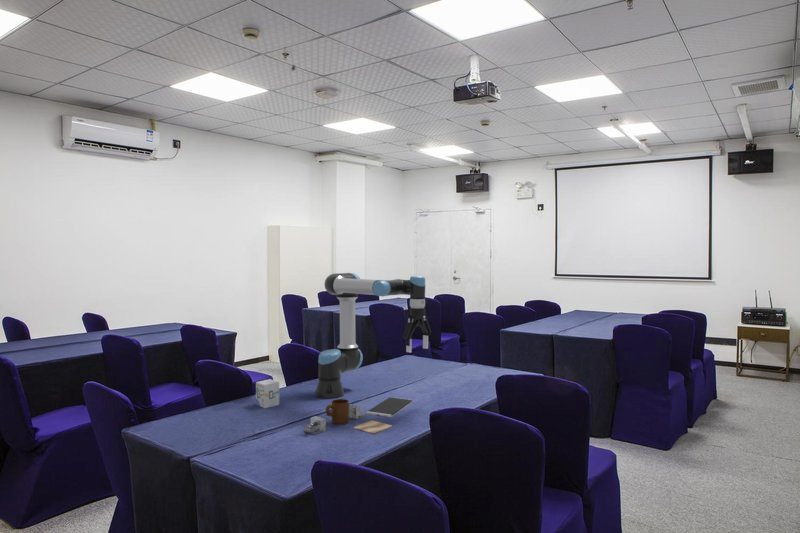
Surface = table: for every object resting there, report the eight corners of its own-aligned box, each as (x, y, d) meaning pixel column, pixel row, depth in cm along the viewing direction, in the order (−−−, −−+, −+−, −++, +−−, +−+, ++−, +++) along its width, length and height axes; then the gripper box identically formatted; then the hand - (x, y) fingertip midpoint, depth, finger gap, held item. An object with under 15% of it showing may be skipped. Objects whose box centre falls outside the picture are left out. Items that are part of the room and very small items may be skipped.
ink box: (255, 404, 250) (255, 381, 250) (270, 401, 256) (270, 378, 256) (264, 408, 244) (264, 384, 244) (279, 404, 250) (279, 381, 250)
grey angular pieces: (300, 432, 211) (300, 420, 210) (354, 413, 237) (354, 402, 237) (312, 436, 206) (312, 423, 206) (366, 416, 232) (366, 405, 232)
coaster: (353, 428, 216) (353, 427, 216) (371, 421, 226) (371, 420, 226) (374, 434, 209) (374, 433, 209) (392, 426, 218) (392, 425, 218)
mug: (331, 428, 215) (331, 407, 215) (320, 424, 220) (320, 403, 220) (352, 422, 224) (352, 401, 224) (340, 418, 229) (340, 397, 229)
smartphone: (365, 415, 236) (365, 411, 236) (389, 399, 261) (389, 396, 261) (391, 419, 231) (391, 415, 231) (413, 402, 256) (413, 399, 256)
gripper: (407, 309, 236) (407, 355, 236) (438, 306, 255) (438, 347, 255) (395, 308, 240) (395, 353, 241) (426, 305, 260) (426, 346, 260)
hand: (417, 350), depth 248 cm, fingers open, 13 cm apart
